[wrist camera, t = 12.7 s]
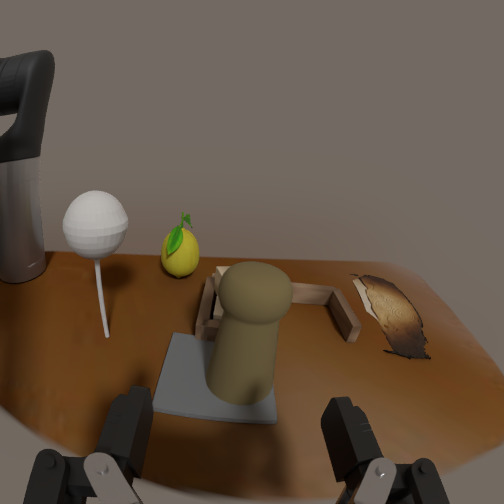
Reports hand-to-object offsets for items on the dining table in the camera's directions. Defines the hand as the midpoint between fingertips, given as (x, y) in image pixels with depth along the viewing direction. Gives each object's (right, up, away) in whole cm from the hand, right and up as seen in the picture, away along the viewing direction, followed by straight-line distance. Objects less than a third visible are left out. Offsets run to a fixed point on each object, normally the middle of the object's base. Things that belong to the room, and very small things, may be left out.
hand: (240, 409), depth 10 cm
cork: (-1, -5, +12) cm, 13 cm away
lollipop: (-15, -2, +15) cm, 21 cm away
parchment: (+23, -3, +29) cm, 37 cm away
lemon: (-10, +3, +29) cm, 31 cm away
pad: (-3, -5, +13) cm, 14 cm away
